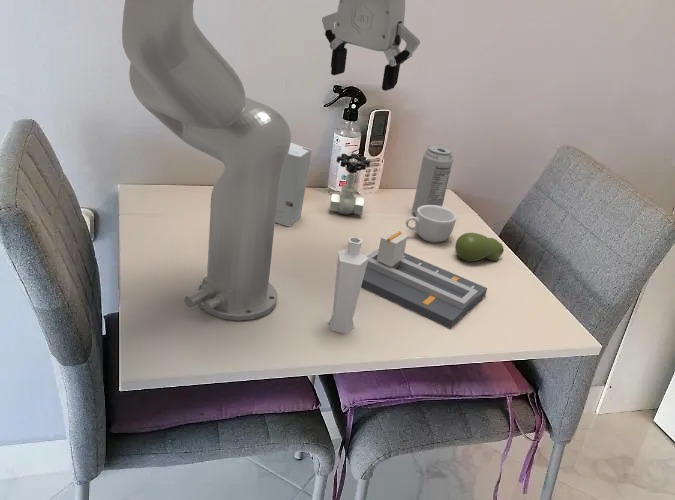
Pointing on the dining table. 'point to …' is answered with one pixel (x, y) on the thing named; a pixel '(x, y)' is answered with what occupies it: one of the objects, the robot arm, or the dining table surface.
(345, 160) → the valve
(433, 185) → the energy drink can
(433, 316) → the console
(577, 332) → the dining table surface
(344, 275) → the perfume bottle
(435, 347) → the dining table surface
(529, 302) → the dining table surface
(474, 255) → the pear
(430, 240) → the teacup
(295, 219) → the skincare box
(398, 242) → the fader
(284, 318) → the dining table surface
